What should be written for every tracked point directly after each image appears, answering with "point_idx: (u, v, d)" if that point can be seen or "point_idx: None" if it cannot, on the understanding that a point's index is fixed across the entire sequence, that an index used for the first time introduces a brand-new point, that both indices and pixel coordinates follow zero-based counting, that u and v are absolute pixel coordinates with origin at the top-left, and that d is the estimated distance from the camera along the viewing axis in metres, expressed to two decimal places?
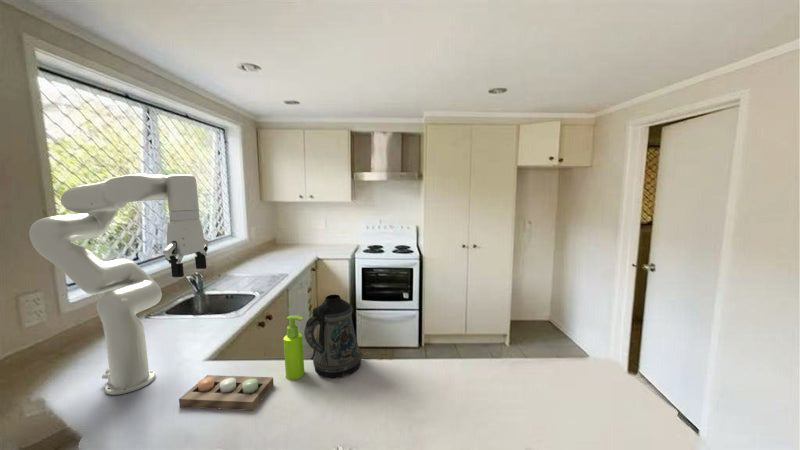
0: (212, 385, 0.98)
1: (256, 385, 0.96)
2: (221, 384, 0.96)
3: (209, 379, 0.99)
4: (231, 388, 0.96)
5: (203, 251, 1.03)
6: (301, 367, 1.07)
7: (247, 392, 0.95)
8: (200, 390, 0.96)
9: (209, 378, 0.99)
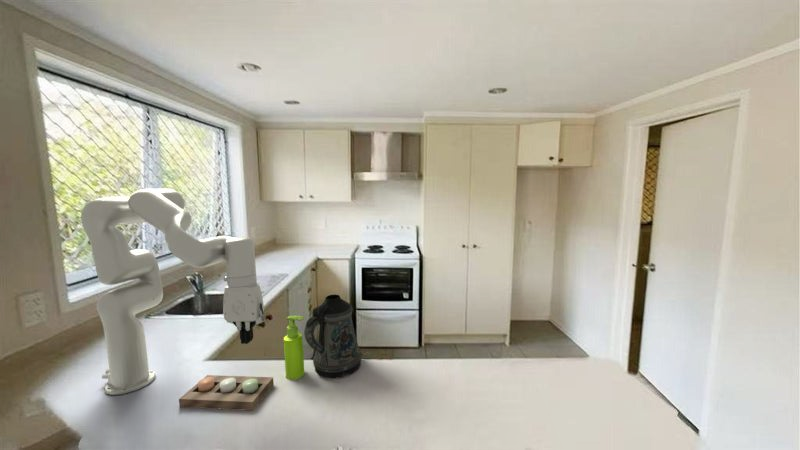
0: (212, 385, 0.98)
1: (256, 385, 0.96)
2: (221, 384, 0.96)
3: (209, 379, 0.99)
4: (231, 388, 0.96)
5: None
6: (301, 367, 1.07)
7: (247, 392, 0.95)
8: (200, 390, 0.96)
9: (209, 378, 0.99)
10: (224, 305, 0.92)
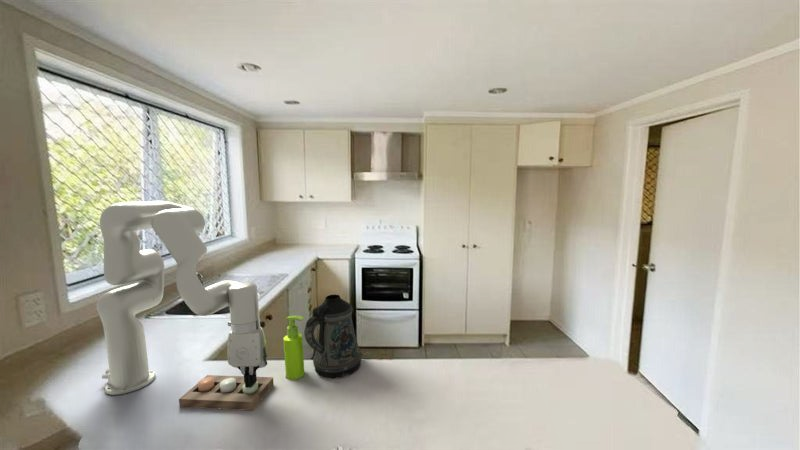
0: (212, 385, 0.98)
1: (256, 387, 0.96)
2: (221, 384, 0.96)
3: (209, 379, 0.99)
4: (231, 388, 0.96)
5: None
6: (301, 367, 1.07)
7: None
8: (200, 390, 0.96)
9: (209, 378, 0.99)
10: (228, 350, 0.93)
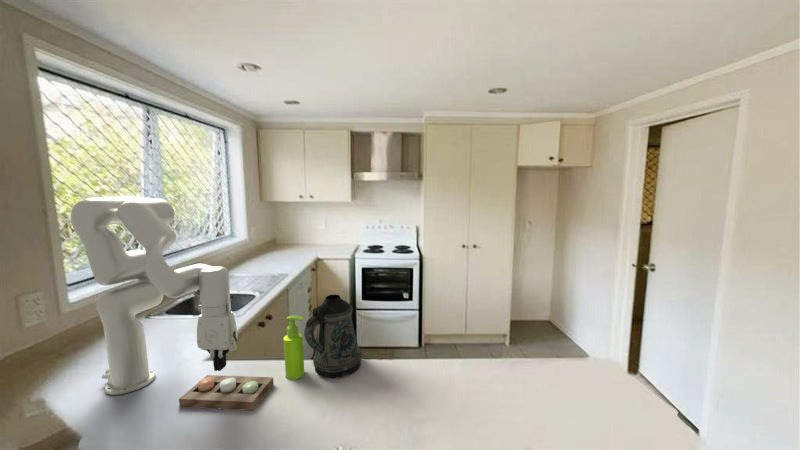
0: (212, 385, 0.98)
1: (256, 388, 0.96)
2: (221, 384, 0.96)
3: (209, 379, 0.99)
4: (231, 388, 0.96)
5: None
6: (301, 367, 1.07)
7: None
8: (200, 390, 0.96)
9: (209, 378, 0.99)
10: (197, 333, 0.94)
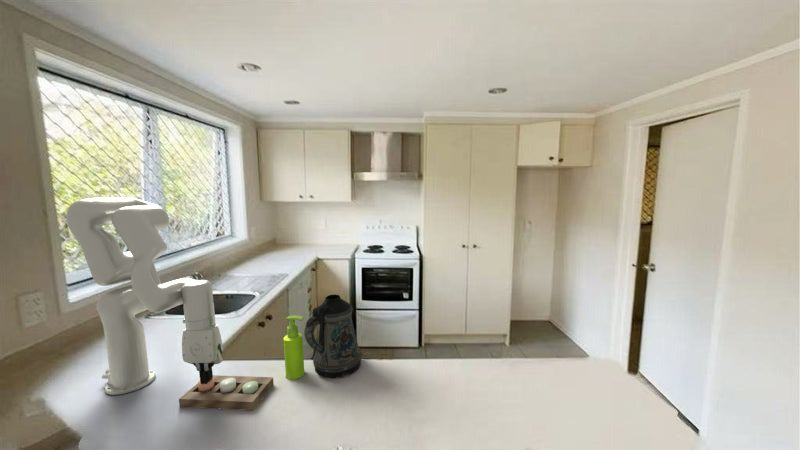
0: (212, 385, 0.98)
1: (256, 388, 0.96)
2: (221, 384, 0.96)
3: None
4: (231, 388, 0.96)
5: None
6: (301, 367, 1.07)
7: None
8: (200, 390, 0.96)
9: None
10: (183, 347, 0.95)
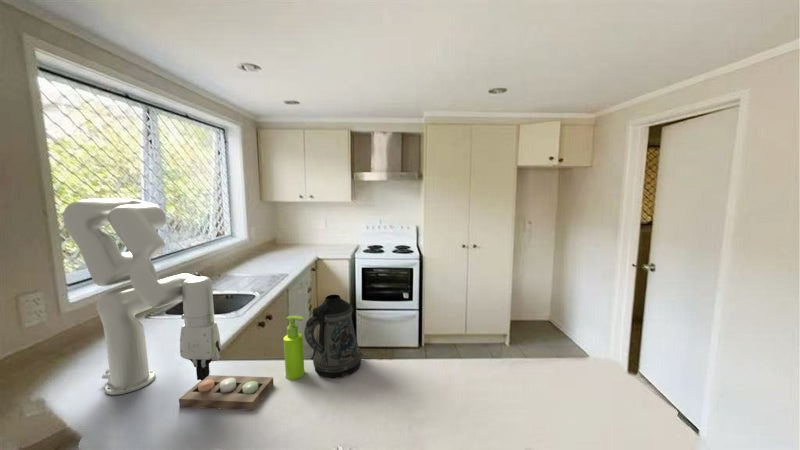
0: (212, 388, 0.98)
1: (256, 388, 0.96)
2: (221, 384, 0.96)
3: (209, 381, 0.99)
4: (231, 388, 0.96)
5: None
6: (301, 367, 1.07)
7: None
8: None
9: (209, 381, 0.99)
10: (180, 343, 0.95)
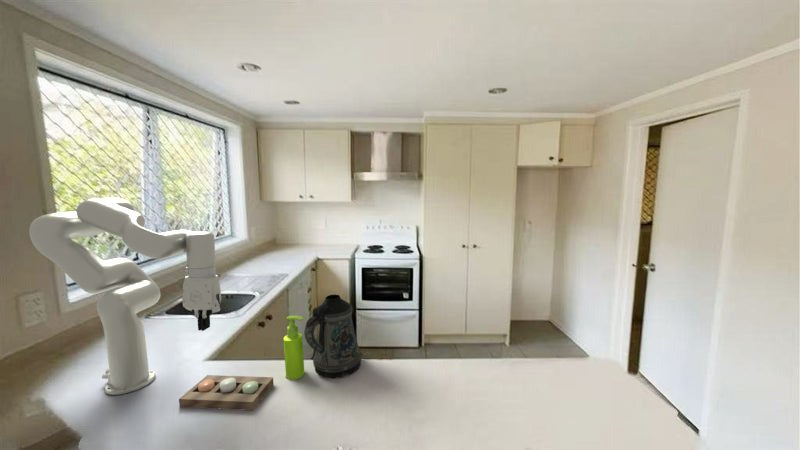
0: (212, 388, 0.98)
1: (256, 388, 0.96)
2: (221, 384, 0.96)
3: (209, 381, 0.99)
4: (231, 388, 0.96)
5: None
6: (301, 367, 1.07)
7: None
8: None
9: (209, 381, 0.99)
10: (183, 293, 0.99)
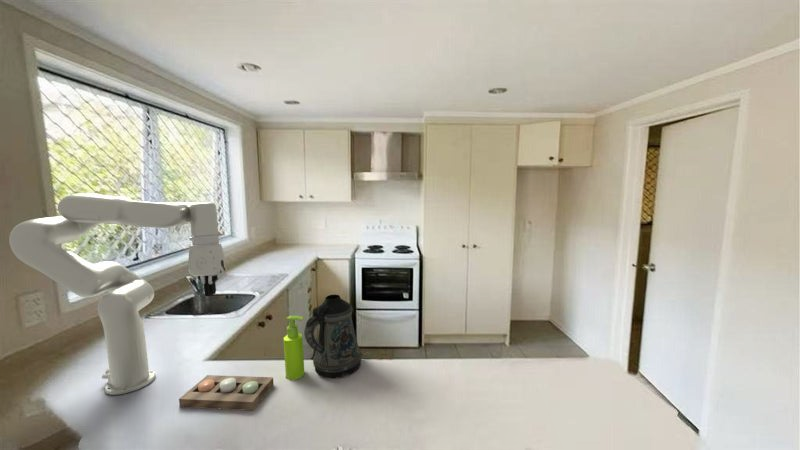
0: (212, 388, 0.98)
1: (256, 388, 0.96)
2: (221, 384, 0.96)
3: (209, 381, 0.99)
4: (231, 388, 0.96)
5: None
6: (301, 367, 1.07)
7: None
8: None
9: (209, 381, 0.99)
10: (189, 261, 1.04)
